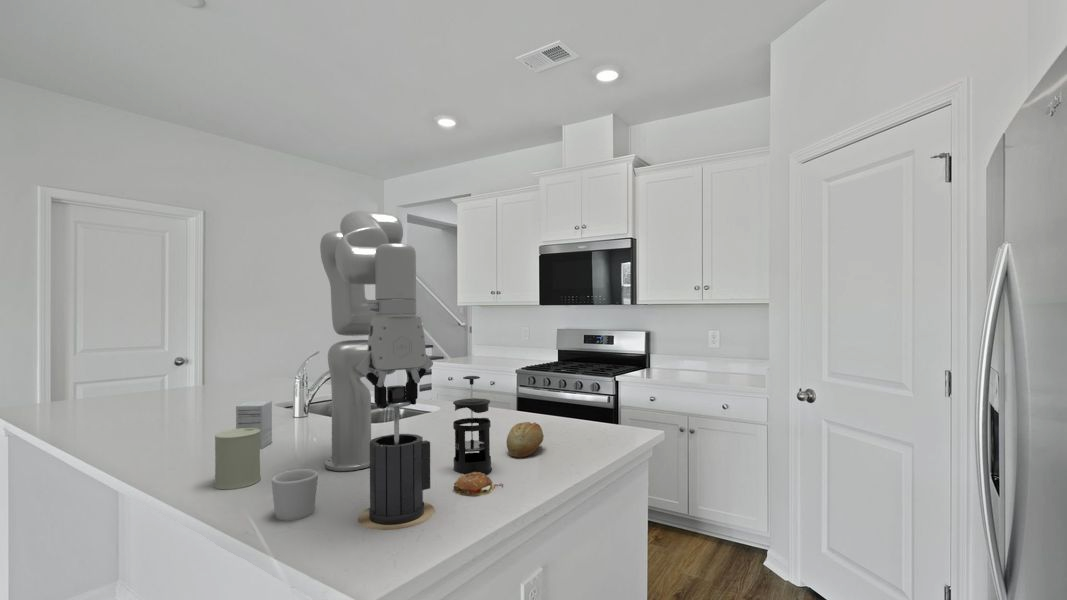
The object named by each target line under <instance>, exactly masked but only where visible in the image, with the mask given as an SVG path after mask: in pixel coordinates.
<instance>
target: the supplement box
mask: <svg viewBox="0 0 1067 600" xmlns="http://www.w3.org/2000/svg"><path fill="white" fill-rule="evenodd" d="M272 404H273V403H272V401H271V400H262V401H261V400H259V401H246V402H244V403H241V404H238V405H236V407H235V416H236V417H235V429H240V428H257V429H260V448H262V449H264V448H265V447H267V446H268V445H270V444H271V443H273V413H272V412H273V407H272V406H273V405H272Z"/></svg>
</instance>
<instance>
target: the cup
mask: <svg viewBox="0 0 1067 600" xmlns="http://www.w3.org/2000/svg"><path fill="white" fill-rule="evenodd" d="M318 477H319V472H318V471H316V470H314V469H310V468H298V469H292V470H291V469H290V470H287V471H282V472H280V473H278V474H276V475H274V476H273V477H272V478H271V489H272V496H273V497H272V498H273V507H274V513H275V516H276V519H277V520H279V521H296V520H300V519H304V518H306V517H309V516H310V515H312V514H313V513H314V511H315V507H316V499H317V489H318V480H319V478H318Z"/></svg>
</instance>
